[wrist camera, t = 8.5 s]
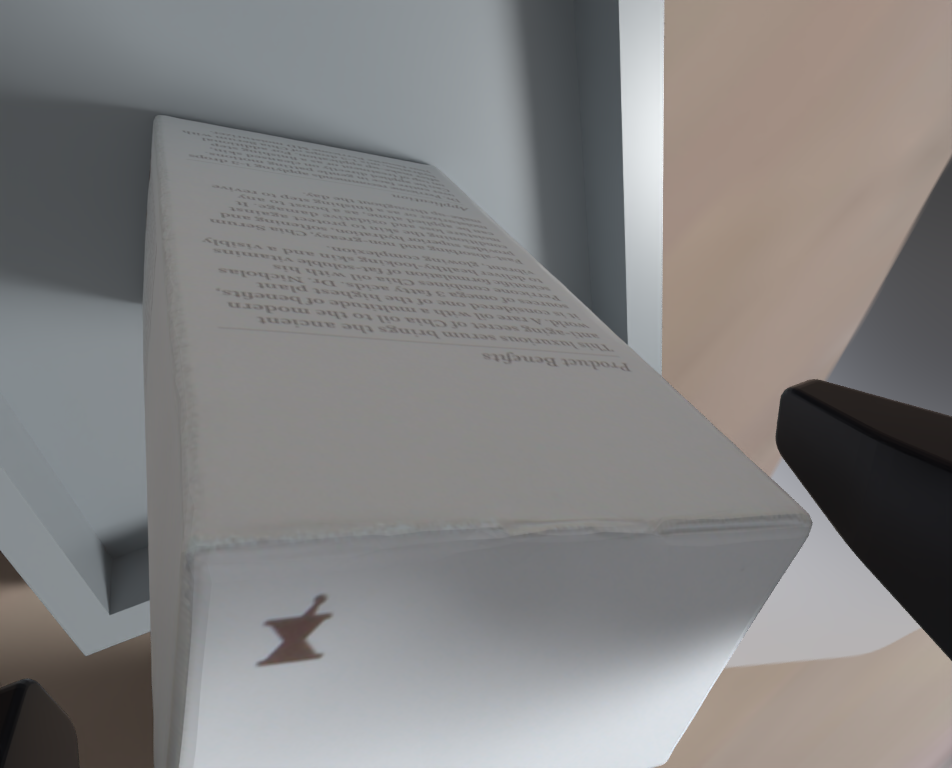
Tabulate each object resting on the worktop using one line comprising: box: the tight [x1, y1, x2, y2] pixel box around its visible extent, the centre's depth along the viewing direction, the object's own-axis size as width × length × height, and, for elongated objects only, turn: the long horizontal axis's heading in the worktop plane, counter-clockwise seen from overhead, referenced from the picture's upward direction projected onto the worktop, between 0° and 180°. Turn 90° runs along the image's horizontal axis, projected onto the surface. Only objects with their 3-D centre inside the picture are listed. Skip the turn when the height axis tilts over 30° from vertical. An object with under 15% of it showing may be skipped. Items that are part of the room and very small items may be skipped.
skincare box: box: [142, 115, 812, 768], centre depth 11 cm, size 6×4×12 cm
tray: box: [0, 0, 664, 656], centre depth 16 cm, size 16×16×2 cm
